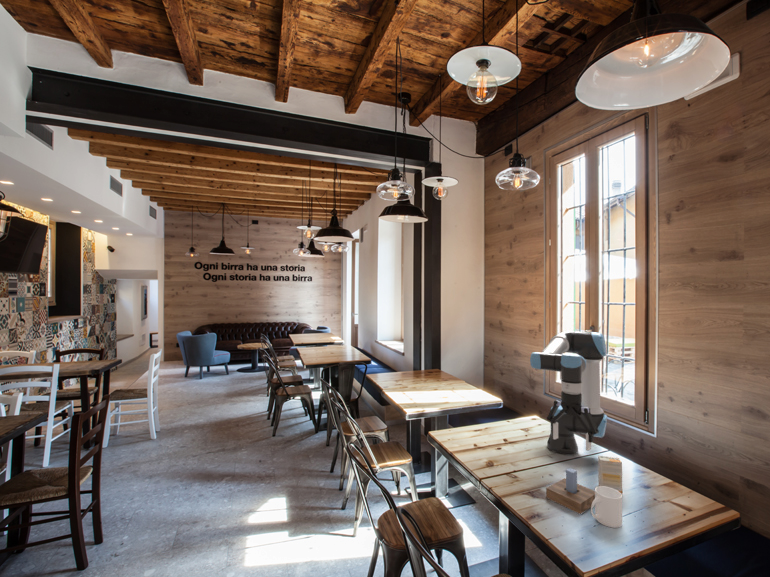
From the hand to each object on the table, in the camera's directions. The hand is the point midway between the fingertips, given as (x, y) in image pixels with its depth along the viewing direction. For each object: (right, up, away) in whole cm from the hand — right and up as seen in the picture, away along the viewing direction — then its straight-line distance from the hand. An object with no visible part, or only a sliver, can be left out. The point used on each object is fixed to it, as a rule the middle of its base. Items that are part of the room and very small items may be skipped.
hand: (571, 444), depth 150 cm
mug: (+5, -23, -15) cm, 28 cm away
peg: (0, -23, 0) cm, 23 cm away
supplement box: (+21, -23, +8) cm, 32 cm away
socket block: (0, -23, -1) cm, 23 cm away
